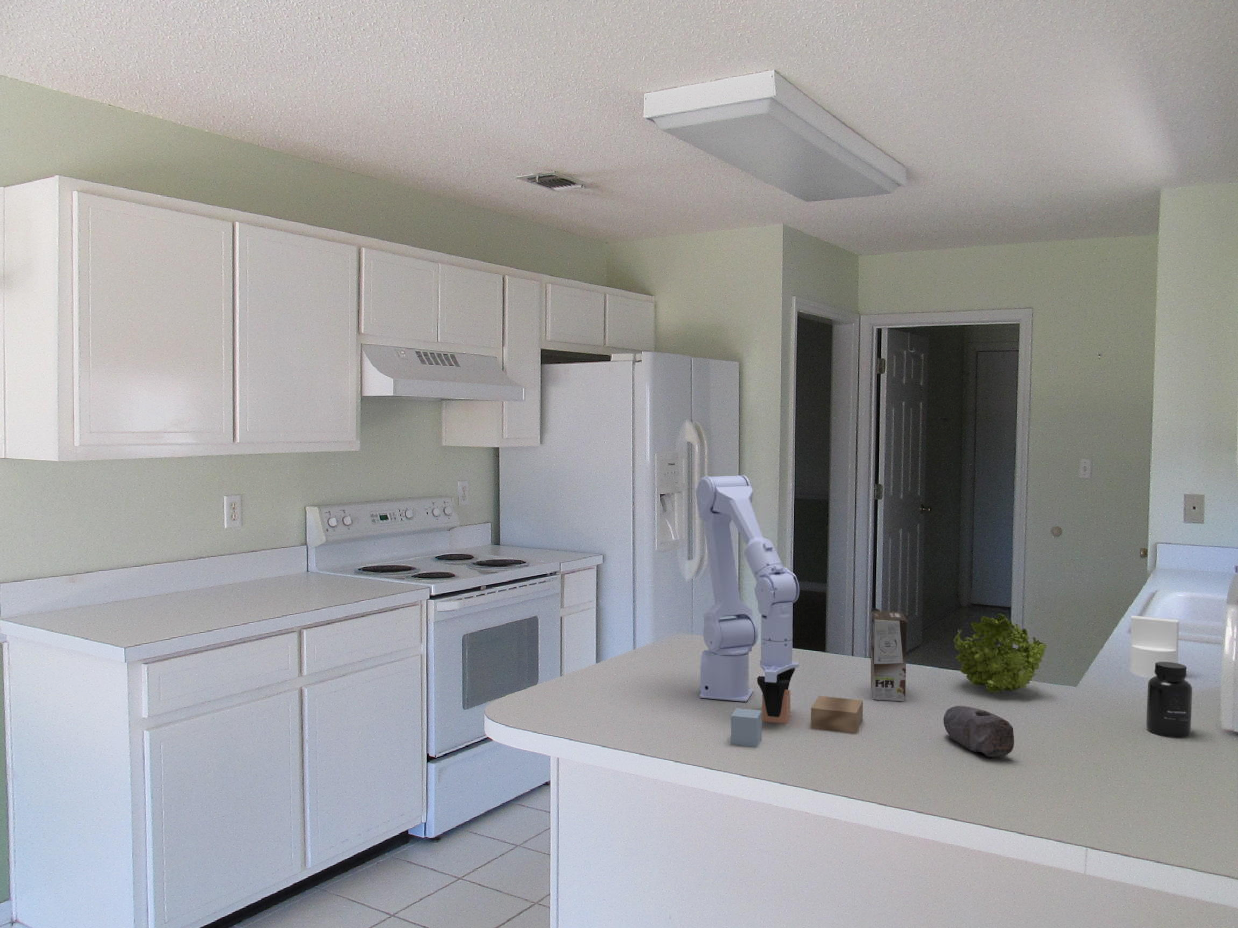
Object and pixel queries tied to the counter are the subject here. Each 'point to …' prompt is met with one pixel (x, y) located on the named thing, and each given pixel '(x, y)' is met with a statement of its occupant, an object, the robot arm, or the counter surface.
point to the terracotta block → (784, 710)
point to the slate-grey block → (746, 727)
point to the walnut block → (837, 714)
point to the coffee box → (888, 655)
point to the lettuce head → (999, 655)
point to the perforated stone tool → (979, 730)
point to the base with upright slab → (1152, 644)
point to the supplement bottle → (1169, 701)
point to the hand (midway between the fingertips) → (776, 710)
